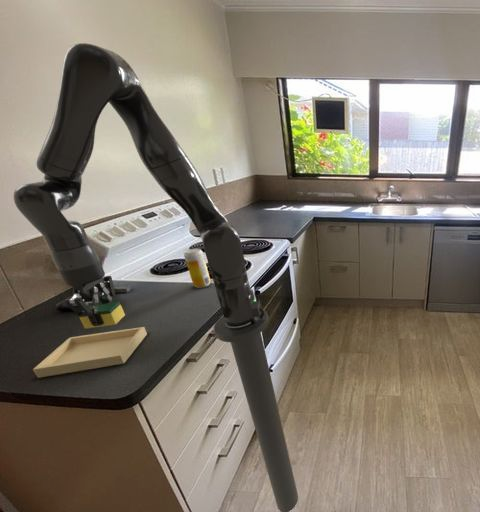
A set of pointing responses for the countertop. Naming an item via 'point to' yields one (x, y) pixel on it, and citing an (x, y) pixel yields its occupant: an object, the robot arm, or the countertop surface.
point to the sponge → (106, 314)
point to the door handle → (64, 306)
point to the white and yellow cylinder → (197, 267)
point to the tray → (91, 352)
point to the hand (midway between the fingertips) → (104, 319)
